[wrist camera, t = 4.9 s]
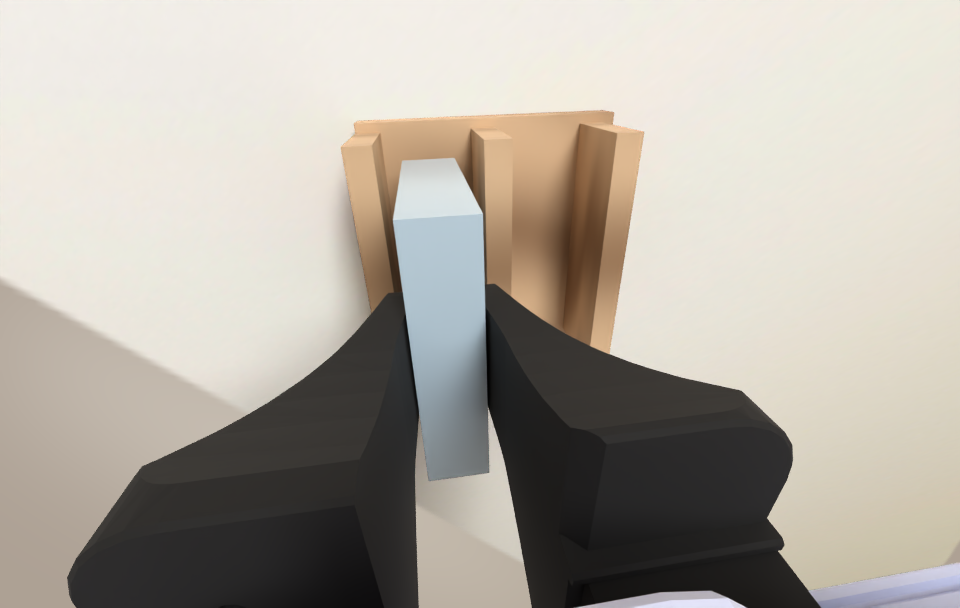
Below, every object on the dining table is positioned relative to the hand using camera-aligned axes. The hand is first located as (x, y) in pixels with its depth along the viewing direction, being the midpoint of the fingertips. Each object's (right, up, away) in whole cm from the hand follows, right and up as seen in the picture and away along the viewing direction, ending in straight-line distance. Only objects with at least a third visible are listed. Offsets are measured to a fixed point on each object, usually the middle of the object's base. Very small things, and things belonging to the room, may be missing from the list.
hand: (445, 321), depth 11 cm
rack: (+1, +3, +6) cm, 7 cm away
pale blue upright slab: (-1, +2, +3) cm, 4 cm away
